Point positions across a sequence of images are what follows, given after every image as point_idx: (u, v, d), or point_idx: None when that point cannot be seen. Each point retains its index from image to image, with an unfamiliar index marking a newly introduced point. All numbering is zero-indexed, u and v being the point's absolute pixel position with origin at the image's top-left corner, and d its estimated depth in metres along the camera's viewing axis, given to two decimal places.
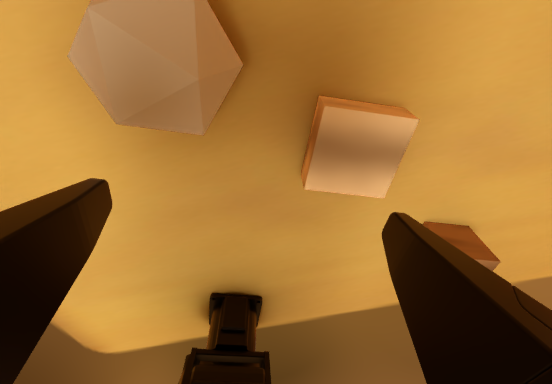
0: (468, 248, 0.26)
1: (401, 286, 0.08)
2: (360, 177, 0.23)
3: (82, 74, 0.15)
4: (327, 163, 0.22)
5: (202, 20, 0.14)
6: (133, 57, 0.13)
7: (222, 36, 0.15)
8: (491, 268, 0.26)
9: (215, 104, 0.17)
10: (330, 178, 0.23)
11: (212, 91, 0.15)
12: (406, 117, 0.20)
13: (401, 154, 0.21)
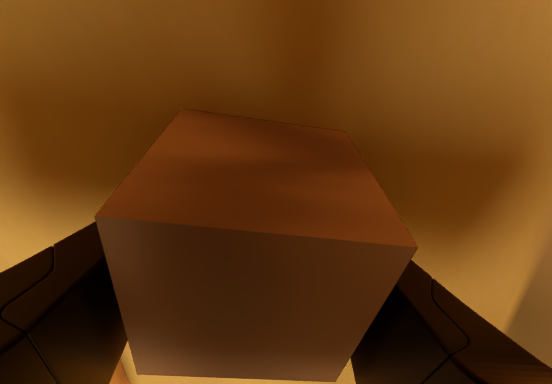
0: None
1: None
2: None
3: None
4: None
5: None
6: None
7: None
8: (164, 238, 0.04)
9: None
10: None
11: None
12: None
13: None
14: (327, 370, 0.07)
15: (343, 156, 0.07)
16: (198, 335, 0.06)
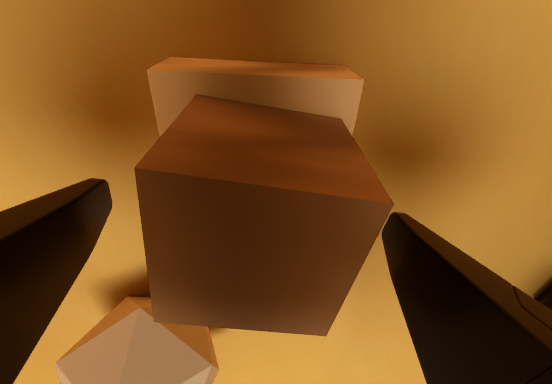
0: None
1: (401, 286, 0.08)
2: None
3: None
4: None
5: (81, 373, 0.14)
6: None
7: (104, 339, 0.15)
8: (188, 189, 0.05)
9: (172, 356, 0.15)
10: None
11: (144, 379, 0.14)
12: (154, 98, 0.09)
13: (236, 80, 0.09)
14: (318, 323, 0.08)
15: (337, 137, 0.08)
16: (208, 284, 0.07)
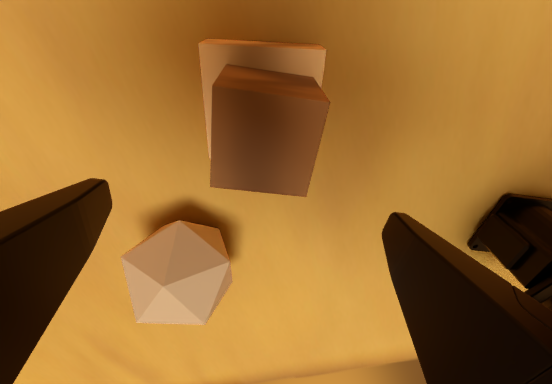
0: None
1: (401, 286, 0.08)
2: None
3: None
4: None
5: (140, 260, 0.20)
6: (158, 311, 0.20)
7: (155, 240, 0.21)
8: (235, 96, 0.12)
9: (202, 252, 0.21)
10: None
11: (185, 263, 0.20)
12: (200, 61, 0.16)
13: (250, 50, 0.15)
14: (301, 185, 0.14)
15: (308, 83, 0.14)
16: (241, 156, 0.13)
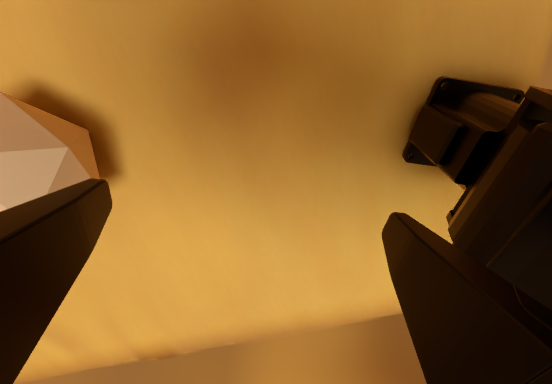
0: None
1: (401, 286, 0.08)
2: None
3: None
4: None
5: None
6: None
7: None
8: None
9: (26, 130, 0.16)
10: None
11: None
12: None
13: None
14: None
15: None
16: None
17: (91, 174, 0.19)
